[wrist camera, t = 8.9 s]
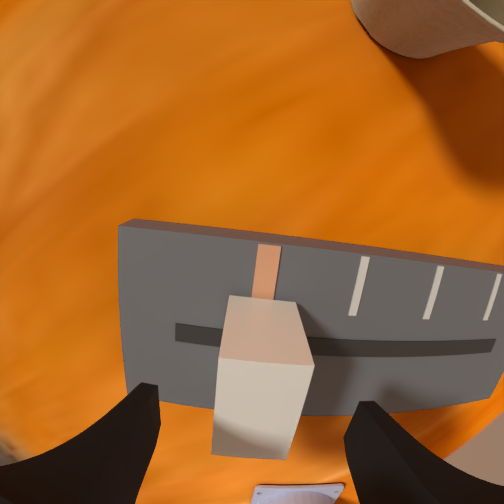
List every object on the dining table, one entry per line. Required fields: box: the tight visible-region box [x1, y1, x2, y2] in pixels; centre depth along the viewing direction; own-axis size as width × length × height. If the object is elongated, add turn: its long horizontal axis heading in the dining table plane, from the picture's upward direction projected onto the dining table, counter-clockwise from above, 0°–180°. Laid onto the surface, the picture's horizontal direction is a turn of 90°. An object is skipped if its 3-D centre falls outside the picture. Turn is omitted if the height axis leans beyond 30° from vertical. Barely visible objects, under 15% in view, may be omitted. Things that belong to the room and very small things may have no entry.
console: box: [118, 219, 504, 416], centre depth 16 cm, size 10×26×2 cm, turn 83°
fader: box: [211, 295, 315, 460], centre depth 12 cm, size 5×3×5 cm, turn 173°
